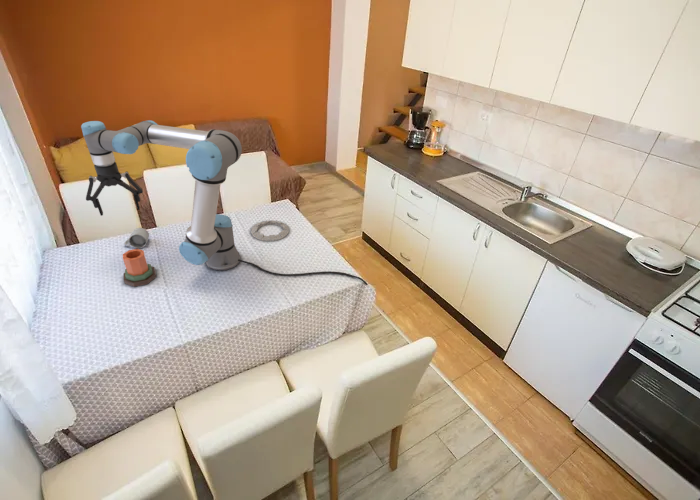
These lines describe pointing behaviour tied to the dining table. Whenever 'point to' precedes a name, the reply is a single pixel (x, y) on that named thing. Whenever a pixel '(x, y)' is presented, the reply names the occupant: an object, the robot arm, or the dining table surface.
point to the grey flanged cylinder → (138, 238)
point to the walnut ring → (141, 282)
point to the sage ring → (139, 277)
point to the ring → (270, 237)
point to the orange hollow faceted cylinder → (135, 262)
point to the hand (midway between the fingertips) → (120, 211)
